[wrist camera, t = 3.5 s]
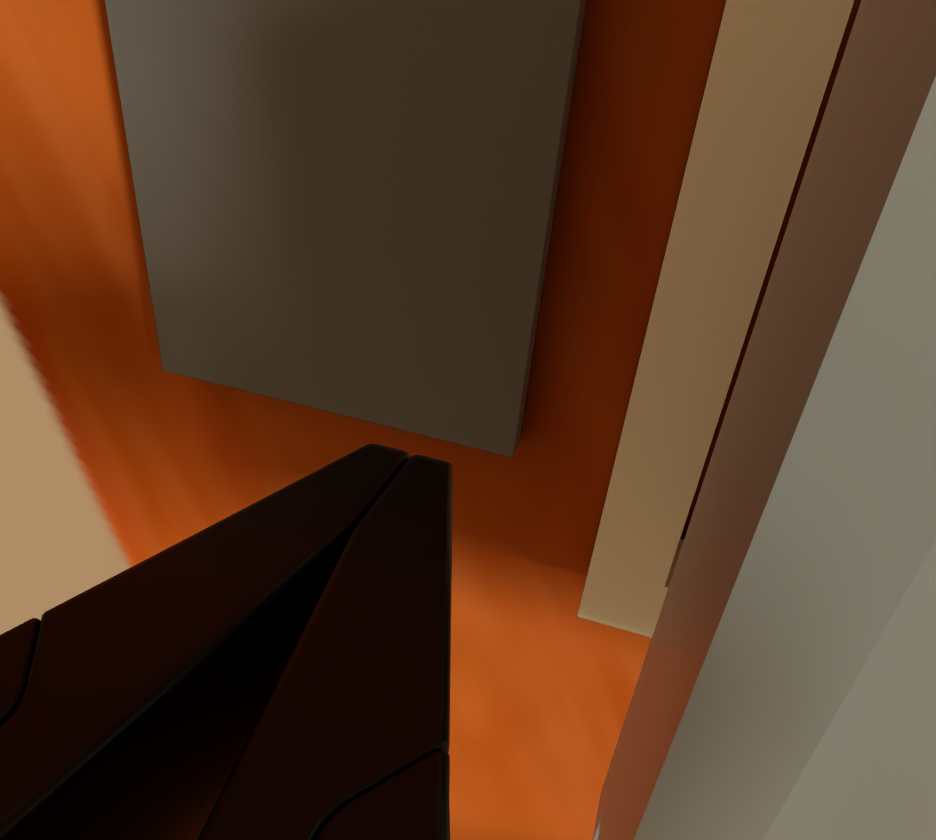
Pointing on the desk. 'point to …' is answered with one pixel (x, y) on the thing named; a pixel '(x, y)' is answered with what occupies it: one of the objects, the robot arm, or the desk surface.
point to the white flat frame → (709, 289)
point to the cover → (815, 510)
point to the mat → (351, 197)
